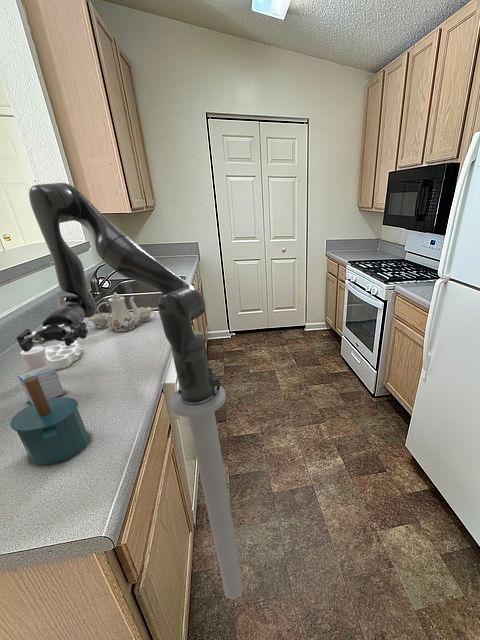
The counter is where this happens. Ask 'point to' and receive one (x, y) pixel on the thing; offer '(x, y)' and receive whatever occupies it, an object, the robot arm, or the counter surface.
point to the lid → (42, 409)
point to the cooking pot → (56, 441)
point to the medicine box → (44, 382)
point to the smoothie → (35, 357)
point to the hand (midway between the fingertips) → (46, 345)
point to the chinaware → (121, 315)
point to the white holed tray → (62, 355)
